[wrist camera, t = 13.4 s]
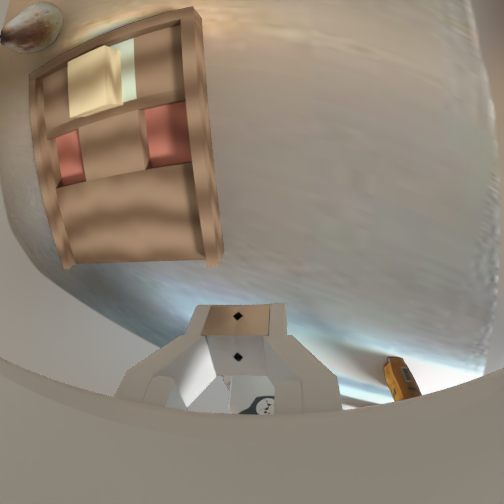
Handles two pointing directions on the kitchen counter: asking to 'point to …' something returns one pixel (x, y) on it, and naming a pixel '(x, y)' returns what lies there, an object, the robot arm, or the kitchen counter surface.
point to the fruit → (33, 28)
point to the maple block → (94, 82)
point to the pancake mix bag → (400, 380)
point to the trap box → (132, 151)
